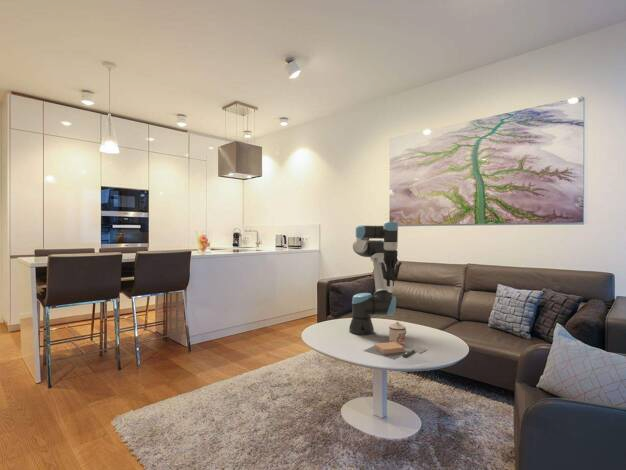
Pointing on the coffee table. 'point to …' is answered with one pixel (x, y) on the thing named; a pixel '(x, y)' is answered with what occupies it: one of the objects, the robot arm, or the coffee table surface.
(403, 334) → the teacup with lid
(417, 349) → the turner
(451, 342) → the coffee table surface
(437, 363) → the coffee table surface
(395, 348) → the tile
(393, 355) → the mat
